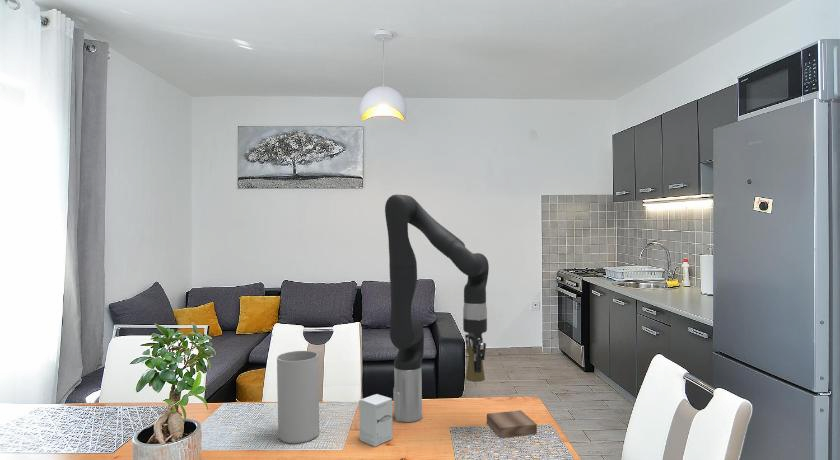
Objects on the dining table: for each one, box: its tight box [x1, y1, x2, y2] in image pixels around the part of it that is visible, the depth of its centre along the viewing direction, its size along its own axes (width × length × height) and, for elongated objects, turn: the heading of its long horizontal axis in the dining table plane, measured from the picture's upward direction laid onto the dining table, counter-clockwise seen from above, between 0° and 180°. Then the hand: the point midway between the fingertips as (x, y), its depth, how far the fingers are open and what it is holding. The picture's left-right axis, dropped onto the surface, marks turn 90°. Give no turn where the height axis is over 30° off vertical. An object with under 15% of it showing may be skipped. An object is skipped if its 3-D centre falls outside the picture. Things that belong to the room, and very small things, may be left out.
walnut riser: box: [486, 410, 538, 439], centre depth 163 cm, size 12×12×3 cm
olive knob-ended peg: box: [465, 344, 486, 383], centre depth 162 cm, size 6×6×11 cm
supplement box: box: [358, 393, 393, 448], centre depth 155 cm, size 7×7×13 cm
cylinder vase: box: [276, 350, 320, 444], centre depth 159 cm, size 12×12×25 cm
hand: (475, 370), depth 162 cm, fingers closed on olive knob-ended peg, 4 cm apart
